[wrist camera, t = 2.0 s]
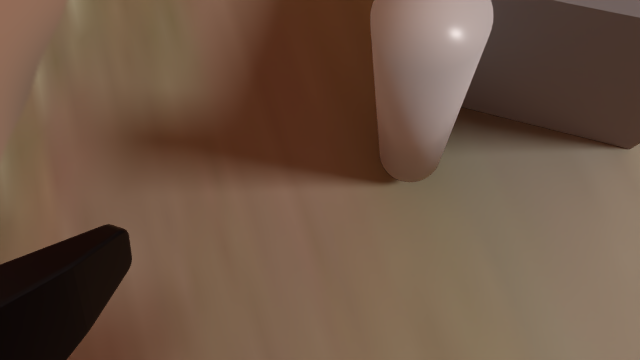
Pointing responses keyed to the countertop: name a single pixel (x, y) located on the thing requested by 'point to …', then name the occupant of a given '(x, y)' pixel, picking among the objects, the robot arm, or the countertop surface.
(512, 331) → the countertop surface
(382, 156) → the side door
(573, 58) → the grey box
